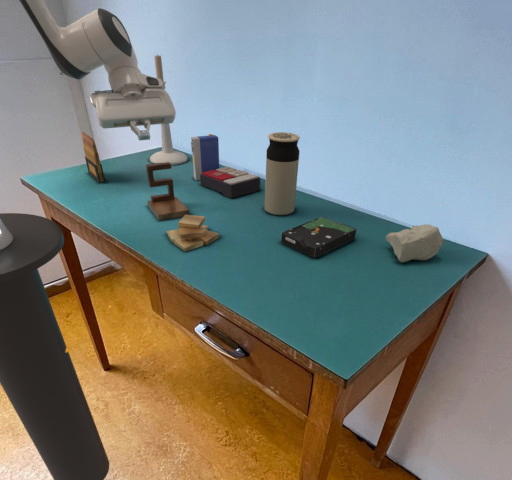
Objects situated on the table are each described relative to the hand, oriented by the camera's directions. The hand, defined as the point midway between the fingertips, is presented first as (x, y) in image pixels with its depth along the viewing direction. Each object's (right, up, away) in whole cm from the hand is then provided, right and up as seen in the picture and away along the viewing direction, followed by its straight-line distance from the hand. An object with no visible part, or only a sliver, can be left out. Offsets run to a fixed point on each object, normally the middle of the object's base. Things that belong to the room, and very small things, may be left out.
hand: (144, 138), depth 104 cm
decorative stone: (+63, -34, -16) cm, 73 cm away
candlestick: (-1, +10, +34) cm, 35 cm away
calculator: (+22, -8, +14) cm, 27 cm away
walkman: (+14, -2, +20) cm, 24 cm away
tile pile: (+15, -30, -14) cm, 36 cm away
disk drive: (+44, -31, -13) cm, 55 cm away
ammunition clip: (-20, -3, +17) cm, 26 cm away
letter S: (+7, -20, -1) cm, 21 cm away
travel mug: (+36, -19, +1) cm, 40 cm away
